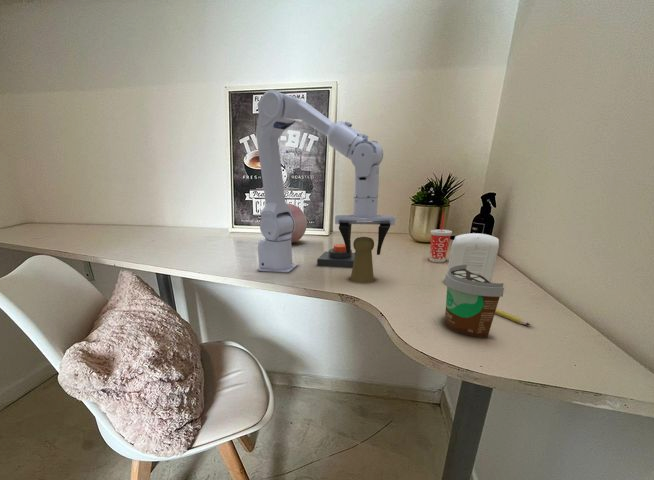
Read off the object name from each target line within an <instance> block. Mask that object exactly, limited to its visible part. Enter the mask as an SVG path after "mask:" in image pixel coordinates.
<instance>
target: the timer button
mask: <svg viewBox="0 0 654 480" xmlns="http://www.w3.org/2000/svg"><path fill="white" fill-rule="evenodd" d="M333 248H334V251H335V252H346V247H345V243H344V244H342V243H338V244H334V245H333Z"/></svg>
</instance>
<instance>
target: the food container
mask: <svg viewBox="0 0 654 480" xmlns="http://www.w3.org/2000/svg"><path fill="white" fill-rule="evenodd" d="M466 268H467V265H458V266H454V267H451V268H450V269H449V271H448V272H446V274H445V277H444V279H443V283H444V284H445V285H446V286H447V287H446V299H445V310H444V311H445V314H444V325H445V326H446V327H447V328H448V329H450V330H452V331H453V332H456V333H459V334H461V335H465V336H469V337H479V338H488V337H489V335H490V334H489V333H490V331H491V327H492V324H493V321H494V317H495V315H496V314H495V311H496V309H498V305H499V301H500V298H503V297H504V282H499V283H498V282H491V283H490V282H489V281H488V280H487V279H485V278H484V277H483V276H481V275H477V274H474V273H471V272H469V271H468V270H466Z"/></svg>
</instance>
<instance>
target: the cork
mask: <svg viewBox="0 0 654 480" xmlns="http://www.w3.org/2000/svg"><path fill="white" fill-rule="evenodd" d="M374 247H375V241H374V238H372V237H368V236H360V237H356V238H355V239H354V240H353V249H354V253H355V256H354V262H353V268H351V274H350V280H351V281H352V282H355V283H371V282H373V281H374V280H375V279H374V277H375V276H374V266H373V265H374V263H373V249H374Z"/></svg>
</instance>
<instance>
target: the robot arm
mask: <svg viewBox="0 0 654 480" xmlns="http://www.w3.org/2000/svg"><path fill="white" fill-rule="evenodd" d="M257 111H258V117H257V124H256V129H255V136H256V144H257V150H258V158H259V164H260V165H259V166H260V172H261V173H260V174H261V180H262V186H263V194H264V195H263V196H264V201H265V205H264V207H263V208H262V210H261V211H260V217H261V218H260V224H259V230H260V233H261V235H262V236H263V238H260V239H259V241H258V244H257V255H258V256H257V257H258V271H259V272H260V271H261V272H272V273H286V274H287V273H290V272H291V271H292V270H294V269H295V268H296V267H297V266H298V264H297V263H293V249H292V247H293V246H292V244H293V243H291V237H292V232H293V231H294V229H295V220H294V218H293V216H292V214H291V208H290V207H289V206H288V205H287V204H288V203H287V202H286V196H285V187H284V178H283V169H282V162H281V161H282V160H281V153H280V145H279V139H280V137H281V136H282V134H284V132H285V131H287V130H288V129H290V128H291V127H292V126H293V125H295V124H296V123H297V122H301V123H302V122H303V123H305V124H306V125H308V126H309V127H311V128H312V129H314V130H316V131H317V132H319V133H321V134H322V135H323V136H325V137H326V139H327V143H328V146H329V147H331V148H333V149H334V150H335V151H337V152H338V153H340V154H341V155H342V156H344V157H345V158H347V159H348V160H350V161H351V163H352V165H353V167H354V177H353V179H354V180H353V210H352V212H353V213H352V214H341V215H340V214H338V215H337V214H336V215H335V216H334V225H338V230H339V232H340V235H341V237H342V240H343V242H344V245H345V247H346V253H347V254H349V253H350V251H351V250H352V249H351V248H352V246H351V245H352V244H351V236H352V225H376V226H377V225H378V231H377V232H378V233H377V234H378V235H377V237H378V238H377V248H376V256H380V255H381V252H382V246H383V245H384V241H385V238H386V236H387V235H388V232H389V230H390V227H391V226H395V225H396V215H383V214H382V215H381V214H378V203H379V202H378V201H379V187H380V185H379V184H380V182H379V181H380V164H381V163H382V161H383V159H384V150H383V147H382V145H380V143H379V142H378V141H376V140H369V135H368V134H366V133H363V134H362V133H361V132H359V131H357V130H356V129H355V128H353V127H352V126H353V123H352V122H350V121H348V120H345V121H344V120H340V121H337V122H334V121H332V120H331V119H329V118H328V117H327V116H325V115H324V114H323V113H321V112H320V111H319V110H317V109H316V108H315V107H314V106H312V105H311V104H310V103H308V102H306V101H304V100H302V99H299V98H297V97H296V96H294V95H292V94H291V95H289V94H286V93H282V92H280V91H278V90H275V89H269V90H267V91H265V92H264V93H263V94H262V96H261V98H260V99H259V100H258V102H257Z"/></svg>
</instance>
